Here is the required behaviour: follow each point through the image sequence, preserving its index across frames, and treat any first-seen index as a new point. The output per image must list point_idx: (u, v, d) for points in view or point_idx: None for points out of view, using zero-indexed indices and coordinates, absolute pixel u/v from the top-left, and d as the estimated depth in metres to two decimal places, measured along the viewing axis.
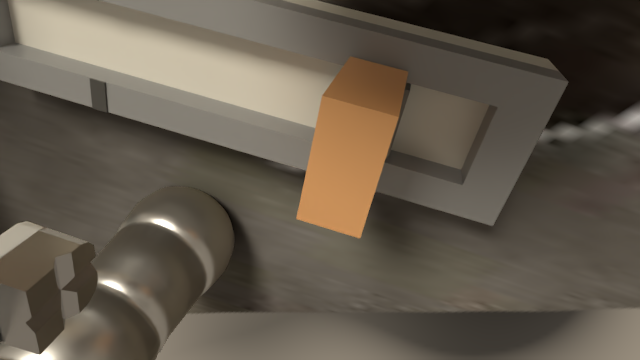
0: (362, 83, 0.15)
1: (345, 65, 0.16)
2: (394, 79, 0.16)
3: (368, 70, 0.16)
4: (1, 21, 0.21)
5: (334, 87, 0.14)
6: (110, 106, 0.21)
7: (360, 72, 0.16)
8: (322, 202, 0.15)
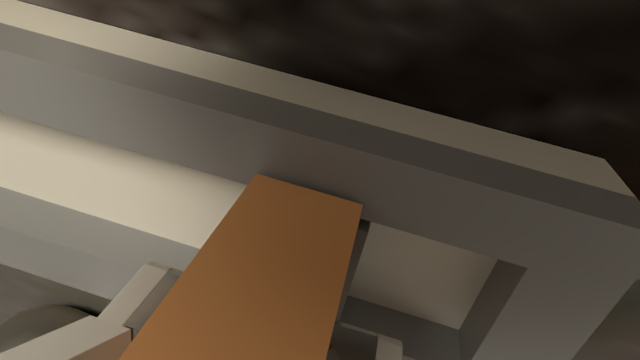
0: (250, 277, 0.07)
1: (234, 207, 0.08)
2: (328, 240, 0.08)
3: (280, 217, 0.08)
4: None
5: (168, 313, 0.06)
6: None
7: (260, 228, 0.08)
8: None
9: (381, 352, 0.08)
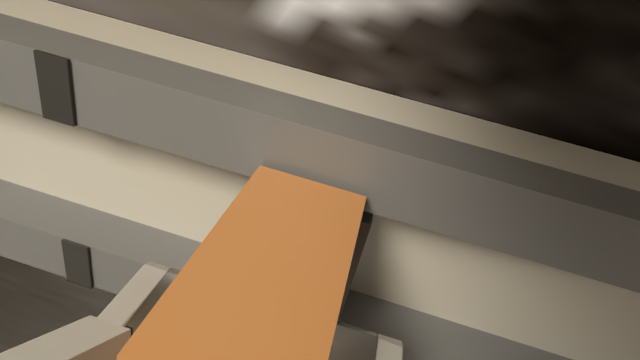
0: (255, 266, 0.07)
1: (238, 198, 0.08)
2: (332, 231, 0.08)
3: (284, 207, 0.08)
4: None
5: (173, 300, 0.06)
6: (97, 279, 0.13)
7: (264, 218, 0.08)
8: None
9: (381, 352, 0.08)
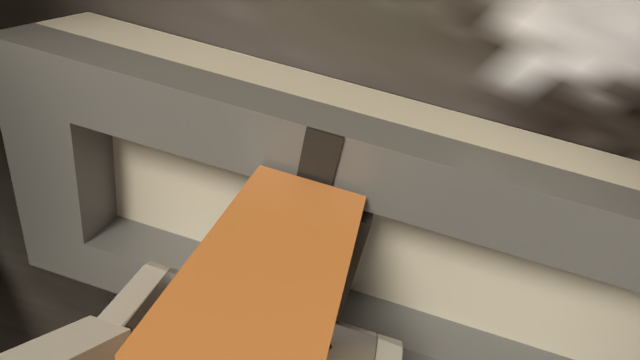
0: (254, 265, 0.07)
1: (237, 198, 0.08)
2: (332, 230, 0.08)
3: (283, 207, 0.08)
4: (102, 193, 0.12)
5: (172, 299, 0.06)
6: None
7: (263, 218, 0.08)
8: None
9: (381, 352, 0.08)
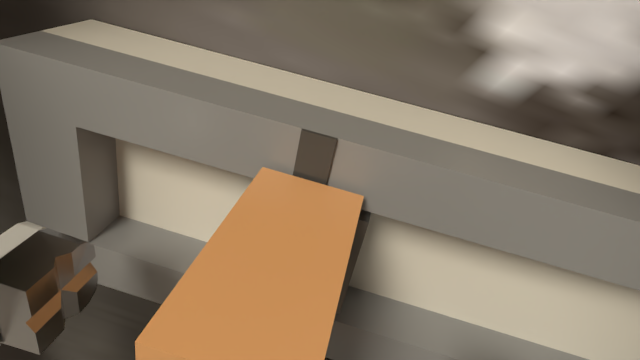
0: (259, 260, 0.07)
1: (242, 198, 0.09)
2: (331, 228, 0.08)
3: (286, 206, 0.09)
4: (106, 194, 0.13)
5: (185, 291, 0.06)
6: None
7: (267, 217, 0.08)
8: None
9: None
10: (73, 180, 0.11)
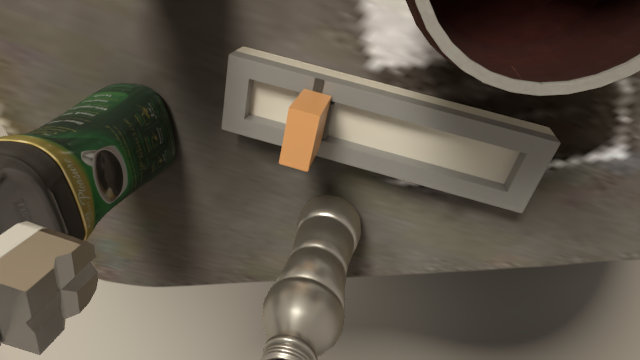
0: (307, 102, 0.33)
1: (300, 93, 0.35)
2: (322, 100, 0.34)
3: (311, 95, 0.35)
4: (248, 103, 0.39)
5: (294, 104, 0.32)
6: None
7: (307, 96, 0.34)
8: (290, 155, 0.33)
9: None
10: (244, 96, 0.37)
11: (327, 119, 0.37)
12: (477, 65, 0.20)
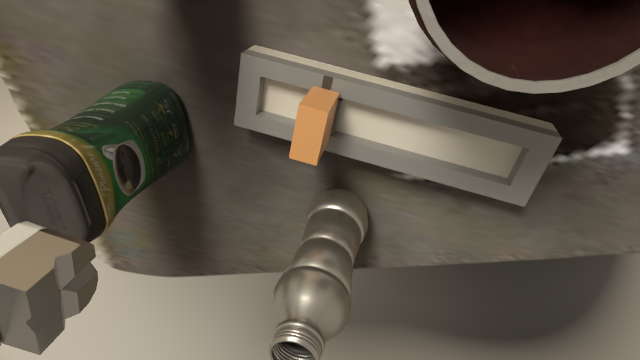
0: (316, 99, 0.35)
1: (310, 90, 0.36)
2: (331, 96, 0.36)
3: (320, 92, 0.36)
4: (260, 100, 0.40)
5: (304, 100, 0.34)
6: None
7: (316, 93, 0.36)
8: (300, 149, 0.35)
9: None
10: (255, 93, 0.39)
11: (335, 115, 0.38)
12: (475, 65, 0.21)
